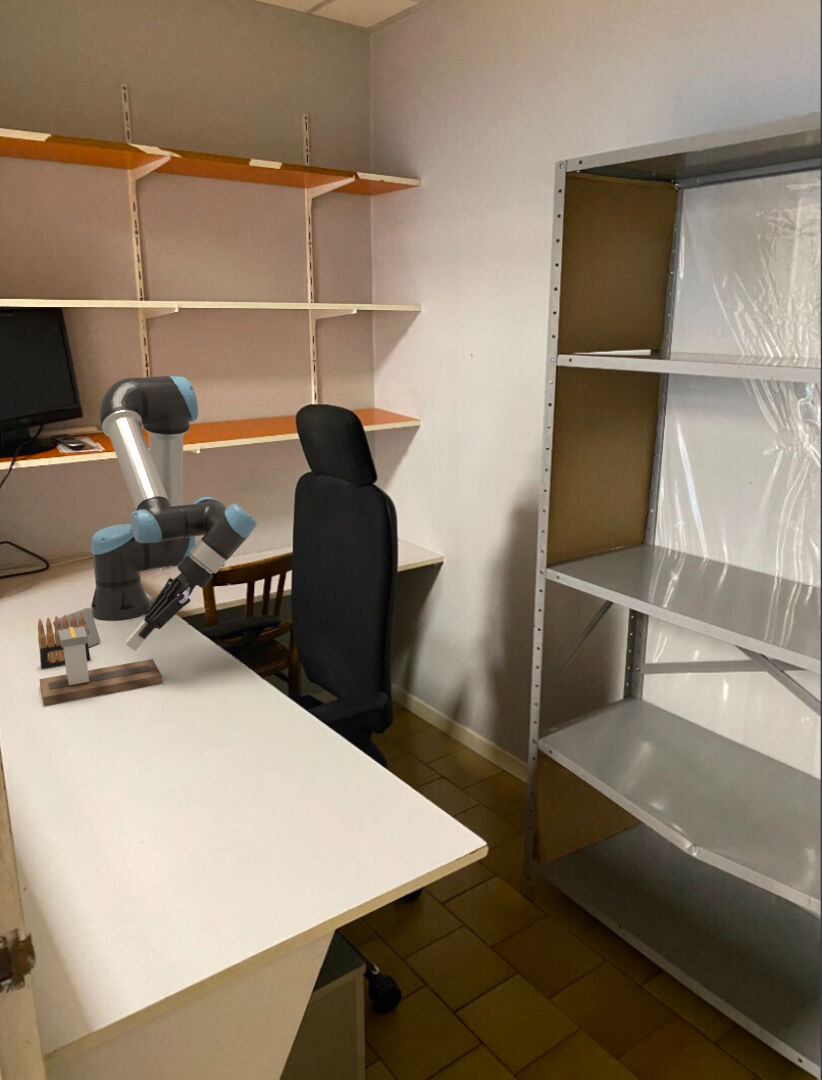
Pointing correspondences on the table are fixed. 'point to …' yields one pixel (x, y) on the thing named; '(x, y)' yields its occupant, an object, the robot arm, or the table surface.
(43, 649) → the ammunition clip
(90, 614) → the electrical switch
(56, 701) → the fader console
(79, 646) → the fader tab
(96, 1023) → the table surface
